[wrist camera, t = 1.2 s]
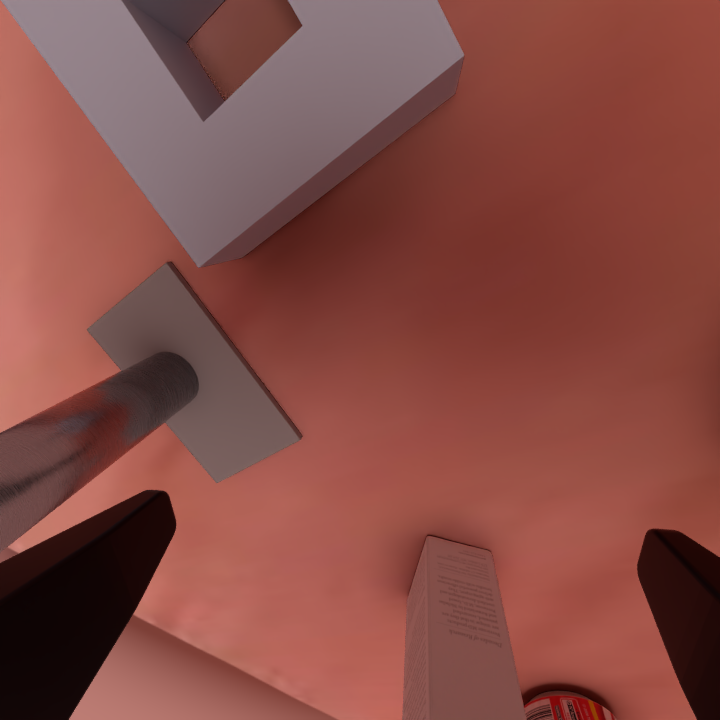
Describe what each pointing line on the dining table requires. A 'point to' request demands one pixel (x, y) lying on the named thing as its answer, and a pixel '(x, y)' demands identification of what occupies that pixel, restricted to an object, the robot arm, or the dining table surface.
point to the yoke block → (245, 104)
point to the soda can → (565, 707)
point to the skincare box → (458, 639)
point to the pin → (85, 437)
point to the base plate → (198, 374)
